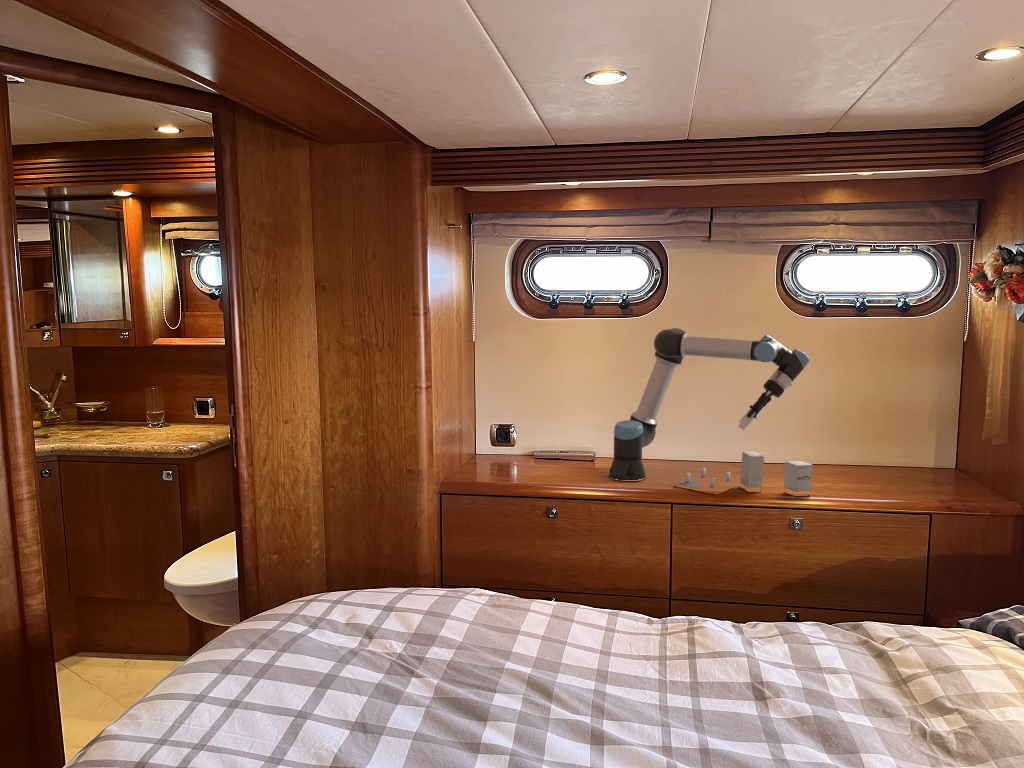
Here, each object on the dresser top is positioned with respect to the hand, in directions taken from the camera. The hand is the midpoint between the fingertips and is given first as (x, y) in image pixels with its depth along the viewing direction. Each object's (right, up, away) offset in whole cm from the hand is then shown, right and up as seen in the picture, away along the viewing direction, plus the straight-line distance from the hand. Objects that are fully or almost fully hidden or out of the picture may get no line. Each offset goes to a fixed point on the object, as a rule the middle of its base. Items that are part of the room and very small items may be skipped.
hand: (741, 426), depth 290 cm
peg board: (-11, -25, +9) cm, 28 cm away
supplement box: (+21, -27, -3) cm, 34 cm away
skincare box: (+5, -26, +4) cm, 26 cm away
